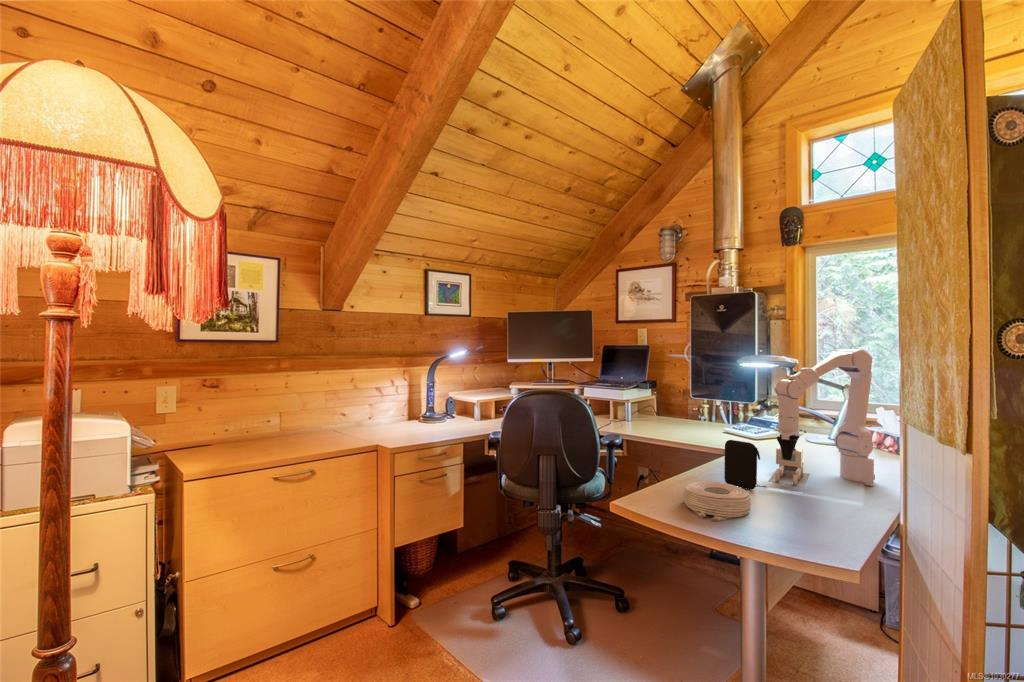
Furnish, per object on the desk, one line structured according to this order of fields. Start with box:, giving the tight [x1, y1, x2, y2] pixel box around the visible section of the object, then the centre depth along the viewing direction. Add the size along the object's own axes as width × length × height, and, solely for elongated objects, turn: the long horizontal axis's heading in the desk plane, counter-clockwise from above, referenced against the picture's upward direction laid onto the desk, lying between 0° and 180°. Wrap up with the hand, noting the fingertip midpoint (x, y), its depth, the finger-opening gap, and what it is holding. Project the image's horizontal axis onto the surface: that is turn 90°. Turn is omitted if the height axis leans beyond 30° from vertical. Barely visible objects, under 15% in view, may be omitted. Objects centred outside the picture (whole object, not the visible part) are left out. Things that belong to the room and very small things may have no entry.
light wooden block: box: [775, 445, 804, 467], centre depth 157 cm, size 7×4×5 cm, turn 53°
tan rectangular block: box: [778, 459, 805, 477], centre depth 165 cm, size 7×4×5 cm, turn 53°
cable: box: [682, 480, 752, 522], centre depth 134 cm, size 18×18×6 cm
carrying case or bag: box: [723, 439, 761, 491], centre depth 152 cm, size 11×3×15 cm, turn 44°
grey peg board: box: [767, 466, 811, 488], centre depth 161 cm, size 10×19×4 cm, turn 143°
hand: (788, 458), depth 157 cm, fingers closed on light wooden block, 4 cm apart
